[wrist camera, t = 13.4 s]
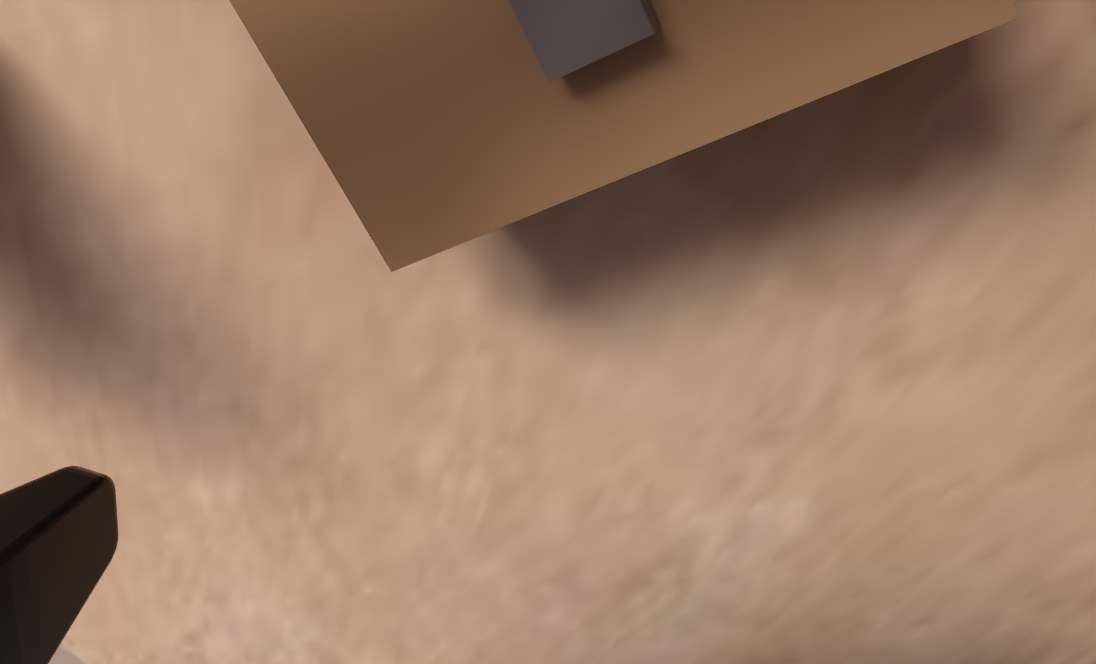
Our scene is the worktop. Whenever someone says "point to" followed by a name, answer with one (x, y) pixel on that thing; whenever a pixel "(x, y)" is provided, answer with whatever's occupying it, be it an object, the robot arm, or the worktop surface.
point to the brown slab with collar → (559, 90)
